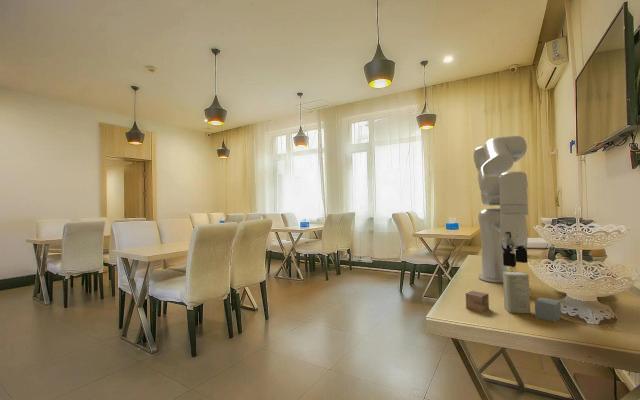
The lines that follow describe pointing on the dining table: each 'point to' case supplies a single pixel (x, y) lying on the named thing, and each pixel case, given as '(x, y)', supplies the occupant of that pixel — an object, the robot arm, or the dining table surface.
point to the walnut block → (477, 301)
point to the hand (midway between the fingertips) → (515, 264)
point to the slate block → (548, 309)
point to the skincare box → (516, 292)
